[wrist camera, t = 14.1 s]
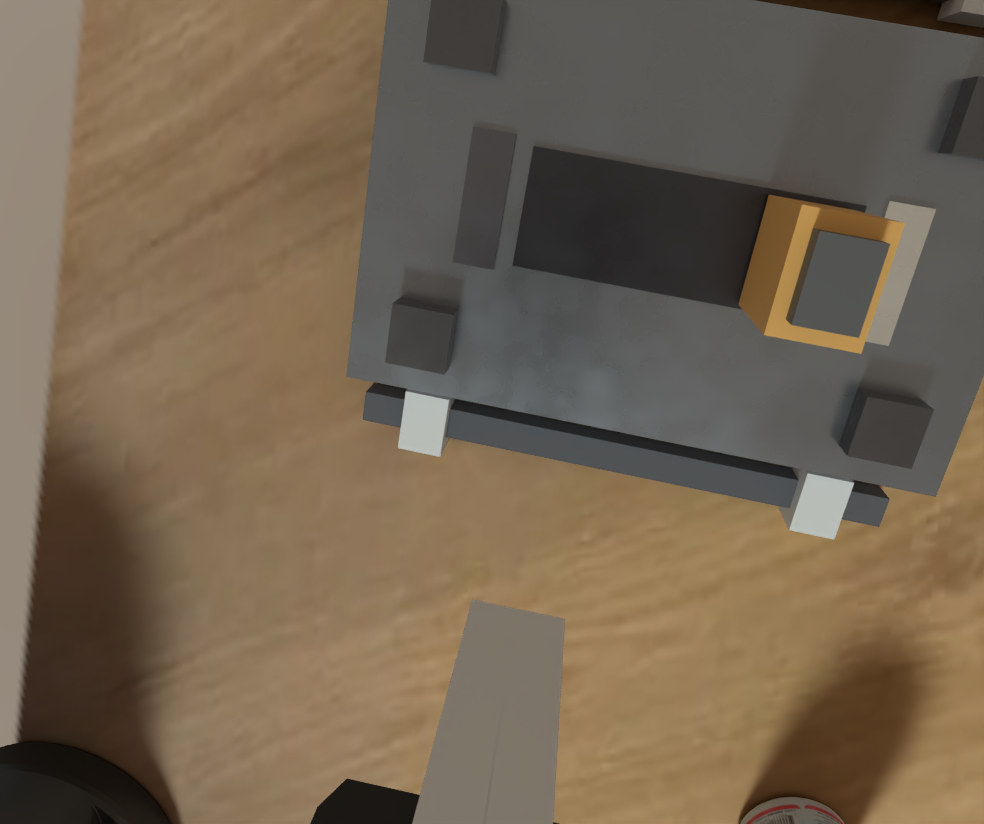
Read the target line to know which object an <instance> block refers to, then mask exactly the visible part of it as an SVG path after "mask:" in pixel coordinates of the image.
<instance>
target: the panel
mask: <svg viewBox="0 0 984 824" xmlns="http://www.w3.org/2000/svg"><path fill="white" fill-rule="evenodd" d="M769 195H774V196H780V197H785V198H791V199H796V200H802V201H807V202H813V203H819V204H824V205H830V206H835V207H841V208H846V209H852V210H856V211H860V212H864V213H868V214H872V215H876V216H879V217H883V218H887V219H891V220H895V221H899V222H902V223H905V226H904V229H903V232H902V235H901V238H900V241H899V244H898V247H897V250H896V252H895V255H894V258H893V261H892V264H891V267H890V270H889V273H888V276H887V279H886V282H885V285H884V288H883V291H882V294H881V297H880V300H879V303H878V306H877V309H876V312H875V315H874V318H873V321H872V324H871V327H870V330H869V333H868V335H867V338H866V341H865V344H864V347H863V350H862V353H861V354H859V353H854V352H849V351H844V350H839V349H834V348H828V347H823V346H818V345H813V344H808V343H802V342H797V341H792V340H787V339H782V338H777V337H771V336H766V335H763V333H762V332H761V331H760V330H759V329H758V327H757V326H756V325H755V324H754V323H753V321H752V320H751V319H750V318H749V317H748V316H747V314H746V313H745V312H744V311H743V310H742V308H741V307H740V306H739V305H738V304H739V301H740V297H741V293H742V290H743V286H744V283H745V279H746V275H747V272H748V268H749V264H750V261H751V257H752V254H753V250H754V246H755V243H756V239H757V236H758V232H759V228H760V225H761V221H762V218H763V214H764V210H765V207H766V203H767V199H768V196H769ZM983 376H984V38H981V37H975V36H969V35H963V34H957V33H951V32H945V31H939V30H933V29H926V28H920V27H914V26H908V25H902V24H896V23H890V22H884V21H878V20H871V19H865V18H859V17H853V16H847V15H841V14H835V13H829V12H823V11H816V10H810V9H804V8H798V7H792V6H786V5H780V4H774V3H768V2H761V1H755V0H388V7H387V17H386V26H385V35H384V44H383V53H382V62H381V71H380V80H379V89H378V98H377V107H376V116H375V125H374V134H373V143H372V152H371V161H370V170H369V179H368V188H367V197H366V206H365V215H364V224H363V233H362V242H361V251H360V260H359V269H358V278H357V287H356V296H355V305H354V314H353V323H352V332H351V341H350V350H349V359H348V368H347V377H352V378H357V379H361V380H366V381H371V382H376V383H381V384H386V385H391V386H396V387H401V388H406V389H410V390H415V391H420V392H425V393H430V394H435V395H440V396H445V397H450V398H455V399H459V400H464V401H469V402H474V403H479V404H484V405H489V406H494V407H499V408H504V409H508V410H513V411H518V412H523V413H528V414H533V415H538V416H543V417H548V418H553V419H557V420H562V421H567V422H572V423H577V424H582V425H587V426H592V427H597V428H602V429H606V430H611V431H616V432H621V433H626V434H631V435H636V436H641V437H646V438H651V439H655V440H660V441H665V442H670V443H675V444H680V445H685V446H690V447H695V448H700V449H704V450H709V451H714V452H719V453H724V454H729V455H734V456H739V457H744V458H749V459H753V460H758V461H763V462H768V463H773V464H778V465H783V466H788V467H793V468H798V469H803V470H807V471H812V472H817V473H822V474H827V475H832V476H837V477H842V478H847V479H852V480H856V481H861V482H866V483H871V484H876V485H881V486H886V487H891V488H896V489H901V490H905V491H910V492H915V493H920V494H925V495H930V496H935V497H936V495H937V492H938V490H939V487H940V485H941V482H942V480H943V477H944V474H945V472H946V469H947V467H948V464H949V462H950V459H951V457H952V454H953V452H954V449H955V447H956V444H957V442H958V439H959V436H960V434H961V431H962V429H963V426H964V424H965V421H966V419H967V416H968V414H969V411H970V409H971V406H972V404H973V401H974V399H975V396H976V393H977V391H978V388H979V386H980V383H981V381H982V378H983Z"/></svg>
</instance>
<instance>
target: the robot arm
mask: <svg viewBox="0 0 984 824" xmlns="http://www.w3.org/2000/svg"><path fill="white" fill-rule="evenodd" d="M564 628H565V619H563V618H559V617H554V616H549V615H544V614H540V613H535V612H530V611H525V610H520V609H516V608H511V607H506V606H501V605H496V604H492V603H487V602H482V601H477V600H472V602H471V606H470V610H469V614H468V617H467V621H466V625H465V629H464V632H463V636H462V640H461V643H460V647H459V651H458V655H457V658H456V662H455V666H454V670H453V673H452V677H451V681H450V685H449V688H448V692H447V696H446V699H445V703H444V707H443V711H442V714H441V718H440V722H439V726H438V729H437V733H436V737H435V741H434V744H433V748H432V752H431V755H430V759H429V763H428V767H427V770H426V774H425V778H424V782H423V785H422V789H421V793H420V795H417V794H413V793H408V792H404V791H399V790H395V789H391V788H386V787H382V786H377V785H373V784H368V783H364V782H359V781H355V780H351V779H346V780H345V781H344V782H343V783H342V784H341V785H340V786H339V787H338V788H337V789H336V790H335V791H334V792H333V793H332V794H331V795H329V796H328V797H327V798H326V799H325V800H324V801H323V802H322V803H321V804H320V805H319V806H318V807H317V809H316V812H315V814H314V817H313V819H312V821H311V824H558V823H554V822H553V817H554V799H555V782H556V765H557V748H558V731H559V713H560V696H561V679H562V662H563V645H564ZM0 824H169V822H168V820H167V818H166V817H165V815H164V813H163V812H162V810H161V809H160V808H159V806H158V805H157V804H156V802H155V801H154V800H153V799H152V798H151V797H150V795H149V794H148V793H147V792H146V791H145V790H144V789H143V788H142V787H141V786H140V785H138V784H137V783H136V782H135V781H134V780H133V779H131V778H130V777H129V776H127V775H126V774H125V773H123V772H122V771H120V770H119V769H117V768H116V767H114V766H113V765H111V764H109V763H107V762H105V761H104V760H102V759H100V758H98V757H95V756H93V755H91V754H88V753H86V752H83V751H80V750H78V749H74V748H71V747H67V746H63V745H58V744H52V743H42V742H25V743H16V744H11V745H7V746H4V747H0Z"/></svg>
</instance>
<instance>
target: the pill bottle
mask: <svg viewBox="0 0 984 824" xmlns="http://www.w3.org/2000/svg"><path fill="white" fill-rule="evenodd" d="M740 824H845V823H844V822H843V821H842V819H841V818H840V817H839V816H838V815H837V814H836V813H835V812H834V811H833V810H831V809H830V808H829V807H827V806H825V805H823V804H821V803H819V802H816V801H814V800H810V799H806V798H800V797H783V798H777V799H772V800H769V801H766V802H764V803H762V804H760V805H758V806H756V807H755V808H753V809H752V810H751V811H749V812H748V813H747V815H746V816H745V817H744V818H743V820H742V821H741V823H740Z"/></svg>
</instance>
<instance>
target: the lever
mask: <svg viewBox="0 0 984 824" xmlns="http://www.w3.org/2000/svg"><path fill="white" fill-rule="evenodd" d="M904 226H905V223H902V222H899V221H895V220H891V219H887V218H883V217H879V216H876V215H872V214H868V213H864V212H860V211H856V210H852V209H846V208H841V207H835V206H830V205H824V204H819V203H813V202H807V201H802V200H796V199H791V198H785V197H780V196H774V195H769V196H768V199H767V203H766V207H765V210H764V214H763V218H762V221H761V225H760V228H759V232H758V236H757V239H756V243H755V246H754V250H753V254H752V257H751V261H750V264H749V268H748V272H747V275H746V279H745V283H744V286H743V290H742V293H741V297H740V301H739V304H738V305H739V306H740V307H741V308H742V310H743V311H744V312H745V313H746V314H747V316H748V317H749V318H750V319H751V320H752V321H753V323H754V324H755V325H756V326H757V327H758V329H759V330H760V331H761V332H762V333H763V335H766V336H771V337H777V338H782V339H787V340H792V341H797V342H802V343H808V344H813V345H818V346H823V347H828V348H834V349H839V350H844V351H849V352H854V353H859V354H861V353H862V350H863V347H864V344H865V341H866V338H867V335H868V333H869V330H870V327H871V324H872V321H873V318H874V315H875V312H876V309H877V306H878V303H879V300H880V297H881V294H882V291H883V288H884V285H885V282H886V279H887V276H888V273H889V270H890V267H891V264H892V261H893V258H894V255H895V252H896V250H897V247H898V244H899V241H900V238H901V235H902V232H903V229H904Z"/></svg>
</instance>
